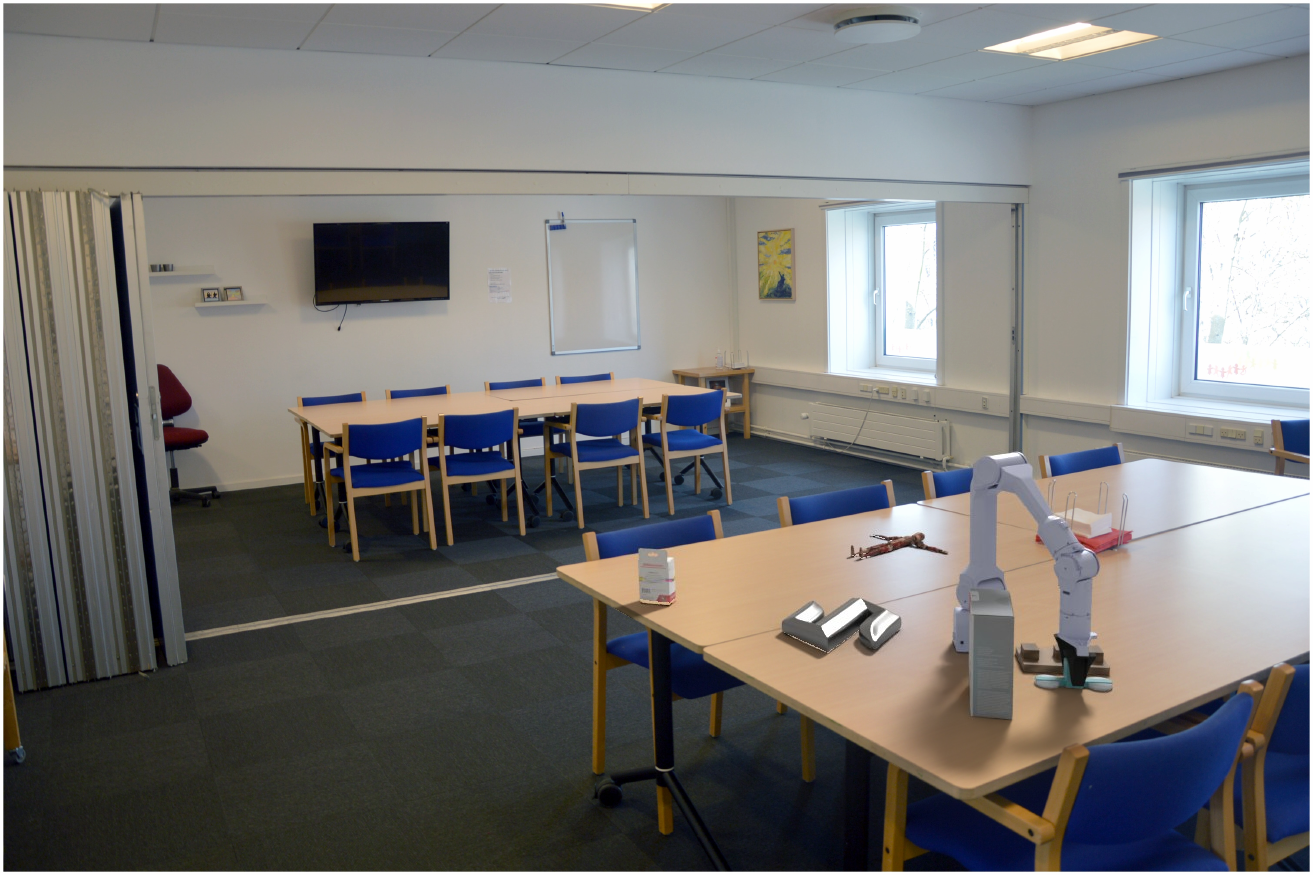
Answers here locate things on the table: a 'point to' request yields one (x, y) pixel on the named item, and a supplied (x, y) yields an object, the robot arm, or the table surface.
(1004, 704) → the hard drive box
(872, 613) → the emblem
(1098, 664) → the display stand
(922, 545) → the mannequin
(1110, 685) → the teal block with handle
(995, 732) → the table surface
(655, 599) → the ink cartridge box
